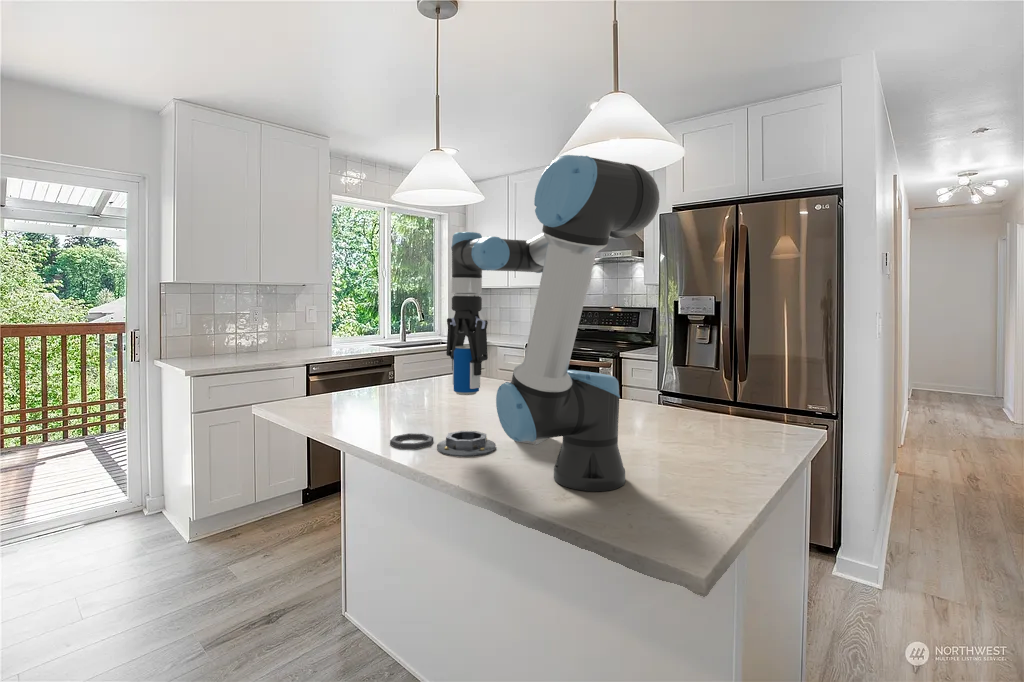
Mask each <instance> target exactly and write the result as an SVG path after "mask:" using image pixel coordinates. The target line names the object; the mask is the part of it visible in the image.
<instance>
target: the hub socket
mask: <svg viewBox="0 0 1024 682" xmlns="http://www.w3.org/2000/svg"><path fill="white" fill-rule="evenodd" d="M496 447H497V445H496V442H494V441H493V440H490V439H488V437H487V433H484V432H480V431H478V430H458V431H453V432H448V434H446V436H445V440H442V441H439V442H438V443H437V444H436V450H437V451H438V453H441V454H443V455H447V456H451V457H462V458H466V457H467V458H468V457H478V456H483V455H484V456H485V455H488V454H490V453H492V452H495V450H496Z"/></svg>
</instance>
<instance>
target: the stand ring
mask: <svg viewBox="0 0 1024 682" xmlns="http://www.w3.org/2000/svg"><path fill="white" fill-rule="evenodd" d="M409 439H410V440H411V439H413V440H424V441H419V442H413V443H412V442H401V441H404V440H409ZM433 442H434V436H432V435H429V434H426V433H412V432H411V433H404V434H400V435H399V434H398V435H394V436H393V437H392V438H391V439H390V440H389V446H392V447H393V448H397V449H399V450H401V449H402V450H403V449H405V450H406V449H407V450H408V449H410V450H417V449H422V448H426V447H427V448H428V447H430V446H431V445H432V444H433Z"/></svg>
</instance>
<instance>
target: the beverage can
mask: <svg viewBox="0 0 1024 682" xmlns="http://www.w3.org/2000/svg"><path fill="white" fill-rule="evenodd" d="M476 357H477V356H476ZM470 361H472V356H471V351H470V346H469V345H463V346H456V349H455V350H454V385H453V392H455V393H456V395H458V396H459V395H460V396H474V395H476V394H477V393H478V392H479V391H480V388H475V389H470Z"/></svg>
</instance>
